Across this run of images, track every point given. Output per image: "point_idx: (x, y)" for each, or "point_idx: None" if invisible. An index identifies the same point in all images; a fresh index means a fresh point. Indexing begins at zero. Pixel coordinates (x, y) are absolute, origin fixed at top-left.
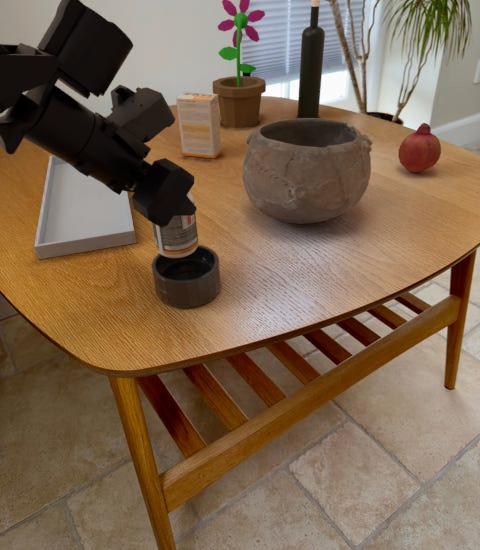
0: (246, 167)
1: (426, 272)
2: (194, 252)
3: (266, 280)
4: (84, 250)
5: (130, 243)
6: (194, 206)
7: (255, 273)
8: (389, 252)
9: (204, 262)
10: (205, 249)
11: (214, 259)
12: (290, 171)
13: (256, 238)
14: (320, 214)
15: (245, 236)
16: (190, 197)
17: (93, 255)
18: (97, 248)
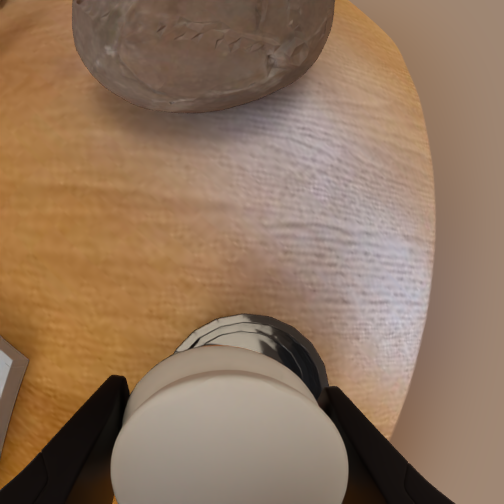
0: (114, 48)
1: (417, 102)
2: (200, 338)
3: (321, 252)
4: (2, 442)
5: (24, 370)
6: (350, 402)
7: (291, 252)
8: (368, 86)
9: (231, 333)
10: (232, 324)
11: (276, 330)
12: (268, 17)
13: (197, 167)
14: (304, 73)
15: (174, 177)
16: (298, 388)
17: (20, 440)
18: (7, 423)
